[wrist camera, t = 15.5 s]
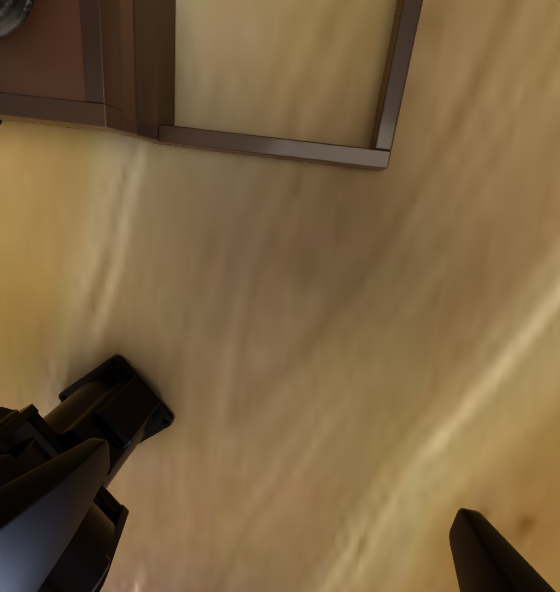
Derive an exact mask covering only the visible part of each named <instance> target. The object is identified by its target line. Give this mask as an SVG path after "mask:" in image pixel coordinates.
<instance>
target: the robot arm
mask: <svg viewBox="0 0 560 592" xmlns="http://www.w3.org/2000/svg"><path fill="white" fill-rule="evenodd" d="M115 361H116V362H117V363H118V364H116V363H115ZM59 399H60V401H61V402H62V403H61V404H60V405H58V406H57V407H56V408H55V409H54V410H52V411H51V412H50V413H49V414H48V415H46V416H45V417H44V418H42V417H41V416H40V415H39V413H38V411H39V410H38V409H37V408H36V407H35V406H34V405H33V404H30V405H29V406H27V407H25V408H23V409H22V410H20V411H18V410H15V409H14V410H11V409H8V408H4V407H0V592H100V590H101V588H102V586H103V584H104V582H105V579H106V577H107V575H108V572H109V569H110V566H111V563H112V560H113V557H114V554H115V551H116V548H117V545H118V542H119V540H120V537H121V534H122V531H123V528H124V525H125V522H126V519H127V516H128V513H129V511H128V510H127V508H126V507H125V506H124V505H121V504H120V503H119V502H118V501H117V500H116V499H115V498H114V497H113V496H112V494H111V493H110V492H109V491H108V490H107V489H106V488H107V486H108V485H109V484H110V482H111V481H112V479H113V478H114V477H115V475H116V474H117V472H118V471H119V470H120V468H121V467H122V465H123V464H124V463H125V461H126V460H127V458H128V457H129V456H130V454H131V453H132V451H133V450H134V449H135V447H136V446H137V444H139V443H140V442H142V441H144V440H146V439H147V438H149V437H151V436H153V435H155V434H156V433H158V432H160V431H162V430H163V429H165V428H167V427H169V426H170V425H171V424H172V422H173V421H174V416H173V415H172V413H171V412H170V411H169V410H168V409H167V408H166V407H165V405H164V404H163V403H162V402H161V401H160V400H159V399H158V397H157V396H156V395H155V394H154V393H153V392H152V391H151V389H150V388H149V387H148V386H147V385H146V384H145V383H144V381H143V380H142V379H141V378H140V377H139V376H138V375H137V373H136V372H135V371H134V370H133V369H132V368H131V367H130V365H129V364H128V363H127V362H126V361H125V360H124V359H123V358H122V357H121V356H119V355H114V356H113V357H111V358H110V359H108V360H107V361H105V362H104V363H102V364H101V365H100V366H98V367H97V368H95V369H94V370H92V371H91V372H90V373H88V374H87V375H85V376H84V377H82V378H81V379H79V380H78V381H77V382H75V383H74V384H72V385H71V386H69V387H68V388H66V389H65V390H64V391H62V392H61V393H60V394H59ZM165 418H166V419H168V420H166V419H165ZM449 540H450V546H451V551H452V555H453V560H454V565H455V570H456V574H457V579H458V584H459V589H460V592H555V590H554V589H553V588H552V587H551V586H550V585H549V584H548V583H547V582H546V581H545V580H544V579H543V578H542V577H541V576H540V575H539V574H538V573H537V572H536V571H535V570H534V568H533V567H532V566H531V565H530V564H529V563H528V562H527V561H526V560H525V559H524V558H523V557H522V556H521V555H520V554H519V553H518V552H517V551H516V550H515V549H514V548H513V547H512V545H511V544H510V543H509V542H508V541H507V540H506V539H505V538H504V537H503V536H502V535H501V534H500V533H499V532H498V531H497V530H496V529H495V528H494V527H493V526H492V525H491V524H490V522H489V521H488V520H487V519H486V518H485V517H484V516H483V515H482V514H481V513H479V512H478V511H475V510H470V509H465V508H461V509H459V510H458V512H457V514H456V517H455V519H454V522H453V524H452V527H451V529H450V533H449Z"/></svg>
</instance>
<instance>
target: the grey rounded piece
mask: <svg viewBox="0 0 560 592" xmlns="http://www.w3.org/2000/svg"><path fill="white" fill-rule="evenodd" d="M33 3H34V0H0V38H2V37H5V36H8V35H10V34H11V33H12V32H14V31H15V30H16V29H18V28H19V27H20V26H21V25H22V24H23V22H24V21H25V19H26V18H27V16H28V15H29V13H30V12H31V9H32V6H33Z"/></svg>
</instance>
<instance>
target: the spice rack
mask: <svg viewBox="0 0 560 592" xmlns="http://www.w3.org/2000/svg"><path fill="white" fill-rule="evenodd" d="M422 2H423V0H398V2H397V7H396V13H395V18H394V23H393V28H392V34H391V39H390V44H389V49H388V55H387V60H386V65H385V70H384V76H383V81H382V86H381V91H380V97H379V102H378V107H377V112H376V118H375V123H374V128H373V133H372V139H371V144H370V149H369V148H360V147H352V146H343V145H334V144H326V143H317V142H308V141H300V140H291V139H282V138H274V137H265V136H256V135H248V134H239V133H230V132H222V131H213V130H204V129H196V128H187V127H178V126H174V59H175V0H34V3H33V6H32V9H31V12H30V13H29V15H28V16H27V18H26V19H25V21H24V22H23V24H22V25H21V26H20V27H19V28H18V29H16V30H15V31H14V32H12V33H11V34H10V35H8V36H5V37H2V38H0V119H2V120H10V121H19V122H27V123H35V124H44V125H52V126H61V127H69V128H78V129H86V130H95V131H103V132H111V133H118V134H122V135H125V136H129V137H133V138H137V139H141V140H144V141H148V142H152V143H156V144H161V145H169V146H177V147H186V148H194V149H202V150H211V151H219V152H227V153H236V154H244V155H252V156H261V157H269V158H277V159H286V160H294V161H302V162H311V163H319V164H327V165H336V166H344V167H352V168H361V169H369V170H378V171H380V170H384V169H387V168H388V164H389V159H390V154H391V149H392V145H393V140H394V135H395V130H396V126H397V121H398V116H399V111H400V107H401V102H402V97H403V92H404V88H405V83H406V78H407V73H408V69H409V64H410V59H411V55H412V50H413V45H414V40H415V36H416V31H417V26H418V21H419V17H420V12H421V7H422ZM0 125H1V122H0Z"/></svg>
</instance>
